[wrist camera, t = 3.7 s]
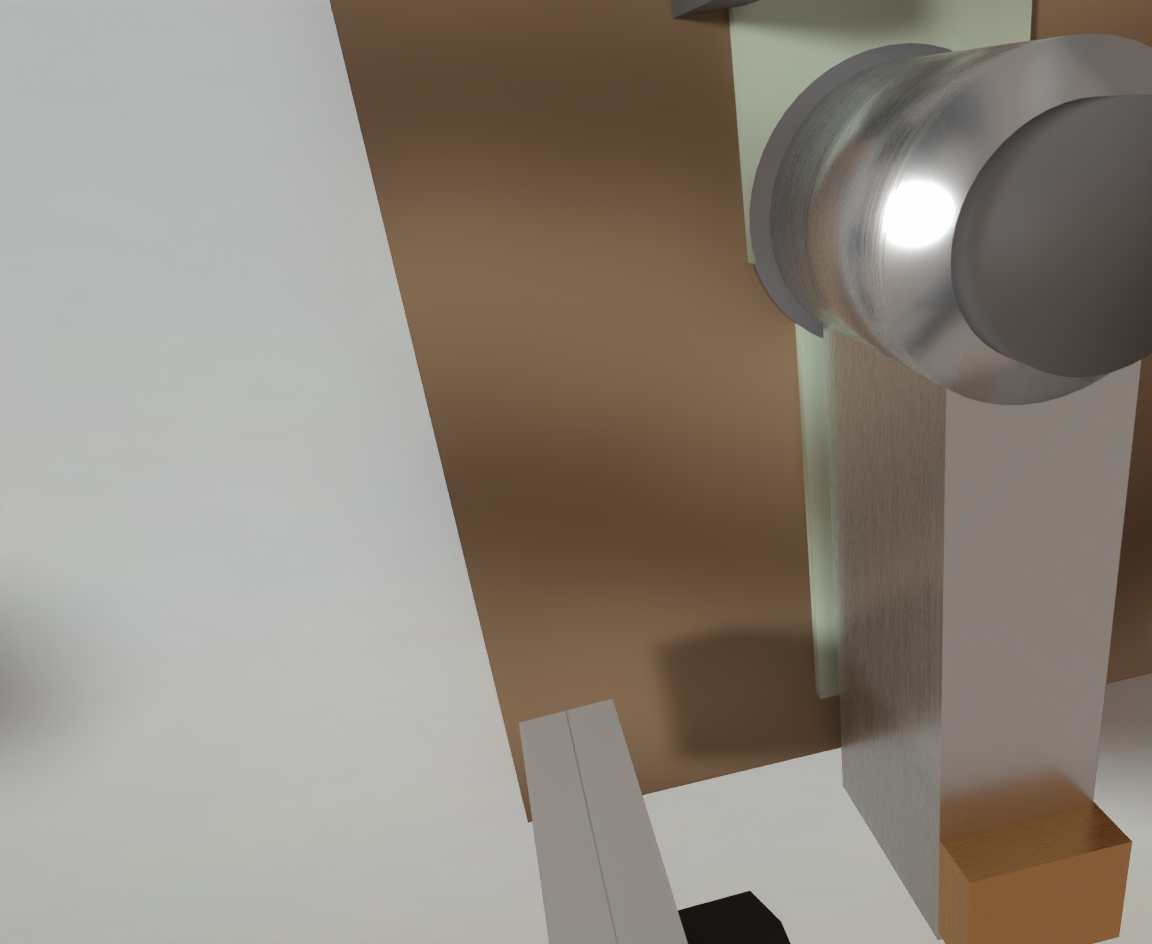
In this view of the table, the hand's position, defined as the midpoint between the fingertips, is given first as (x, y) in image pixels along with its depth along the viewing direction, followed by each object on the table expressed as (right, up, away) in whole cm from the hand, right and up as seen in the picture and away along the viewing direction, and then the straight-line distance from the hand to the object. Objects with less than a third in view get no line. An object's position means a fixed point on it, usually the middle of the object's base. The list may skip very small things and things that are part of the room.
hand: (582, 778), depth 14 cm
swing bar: (+5, +5, +1) cm, 7 cm away
